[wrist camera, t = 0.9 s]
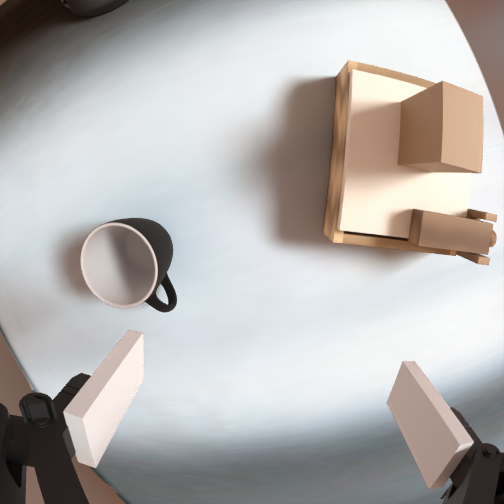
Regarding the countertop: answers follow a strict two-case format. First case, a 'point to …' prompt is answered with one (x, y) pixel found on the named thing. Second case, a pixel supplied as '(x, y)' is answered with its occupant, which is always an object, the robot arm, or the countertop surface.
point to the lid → (407, 152)
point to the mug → (129, 263)
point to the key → (450, 232)
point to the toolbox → (338, 167)
